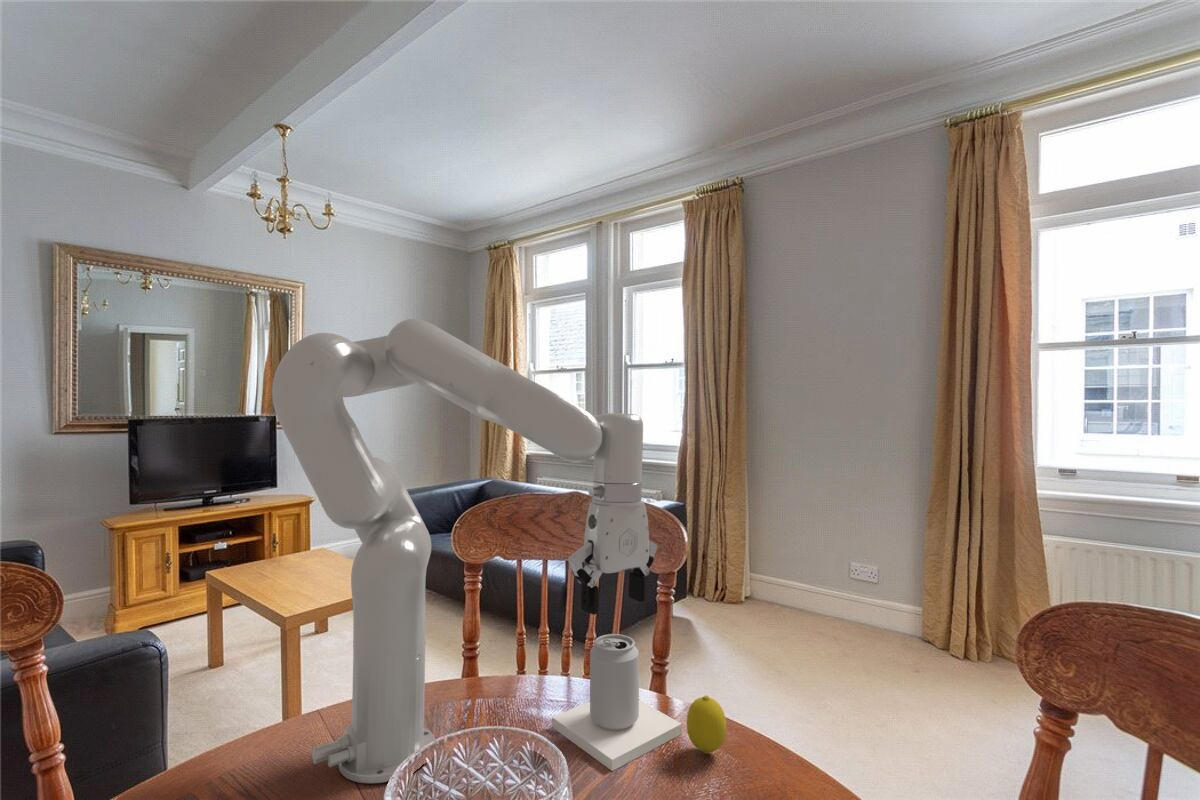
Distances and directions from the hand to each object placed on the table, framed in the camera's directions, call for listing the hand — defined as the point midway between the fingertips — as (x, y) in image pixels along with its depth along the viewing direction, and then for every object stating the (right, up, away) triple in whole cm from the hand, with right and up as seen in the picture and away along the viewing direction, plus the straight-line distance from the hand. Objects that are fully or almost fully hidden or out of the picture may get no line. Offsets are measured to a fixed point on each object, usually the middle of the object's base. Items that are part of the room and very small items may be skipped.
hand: (613, 605), depth 86 cm
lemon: (+13, -19, -6) cm, 24 cm away
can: (0, -18, -1) cm, 18 cm away
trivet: (0, -19, -1) cm, 19 cm away
